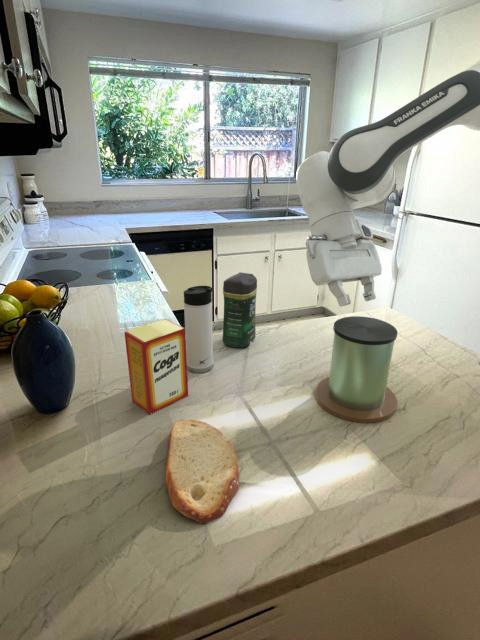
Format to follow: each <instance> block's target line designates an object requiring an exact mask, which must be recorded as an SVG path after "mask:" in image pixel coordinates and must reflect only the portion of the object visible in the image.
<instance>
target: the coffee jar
mask: <svg viewBox="0 0 480 640" xmlns="http://www.w3.org/2000/svg"><path fill="white" fill-rule="evenodd" d="M257 292H258V278H257V277H256V276H255V275H254V274H253V273H248V272H240V271H239V272H238V273H236V274H234V275H231V276H229V277H228V278H226V279H225V280H223V286H222V294H223V325H222V343H223V344H224V345H227V346H228V347H231V348H235V349H236V348H246V347H248V346H249V345H251V342H254V340H255V339H256V307H257V306H256V304H257Z"/></svg>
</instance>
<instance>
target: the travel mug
mask: <svg viewBox="0 0 480 640" xmlns="http://www.w3.org/2000/svg"><path fill="white" fill-rule="evenodd" d="M213 291H214V287H212V286H210V285H196V286H191V287H187V289H185V290H184V291H183V311H184V314H183V315H184V328H185V337H186V358H187V370H188V371H190V372H193V373H195V374H196V373H197V374H200V373H201V374H203V373H207V372H209V371H211V370H212V369H213V367H214V337H213V336H214V333H213V332H214V331H213V329H214V327H213V297H212V293H213Z"/></svg>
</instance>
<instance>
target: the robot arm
mask: <svg viewBox="0 0 480 640" xmlns="http://www.w3.org/2000/svg"><path fill="white" fill-rule="evenodd" d="M454 126H463V127H465V128H468V129H469V130H473V131H477V132H478V131H479V132H480V60H479V61H476V63H474V64H472V65H471V66H470V67H468V68H466V69H465V70H463V71H460V72H459V73H456V74H455V75H453V76H451V77H449V78H447V79H445V80H444V81H442V82H440V83H439V84H437V85H435V86H433V87H432V88H430V89H429V90H427V91H425V92H424V93H422V94H420V95H419V96H418V97H416V98H414V99H413V100H411V101H409V102H408V103H406V104H405V105H403V106H401V107H400V108H397V110H395V111H393V112H391V113H390V114H388V115H387V116H385V117H384V118H381V119H380V120H377V121H375V122H373V123H372V122H371V123H370V124H366V125H362V126H359V127H356V128H353V129H350V130H348V131H347V132H345V133H344V134H342V135H341V136H340V137H339V138H338V139H336V141H335V143H334V144H333V146H332V147H331V149H330V151H325V150H321V151H320V150H319V151H317V152H315V153H312V154H311V155H309V156H307V158H305V159H304V160H303V161H302V162H301V164H299V166H298V168H297V170H296V174H295V181H296V182H295V183H296V188H297V191H298V197H299V200H300V203H301V207H302V210H303V212H304V213H305V215H306V217H307V218H308V227H309V231H310V235H308V237H307V239H306V241H305V248H306V250H305V251H306V253H305V255H306V256H305V257H306V262H307V266H308V267H307V268H308V272H309V274H310V279H311V281H312V282H313V283H314V284H315V286H317V287H319V286H320V287H321V286H327V287H328V289H329V291H330V293H331V294H332V295H333V296H334V297H335V299H336V301H337V304H338V306H339V307H341V308H342V307H345V306H348V305H351V303H352V300H351V298H350V294H347V293H346V292H345V290H344V288H343V285H344V284H343V283H351V282H360V284H361V286H363V293H362V296H363V299H364V301H365V302H372V301H373V300H376V298H377V295H376V293H375V279H374V278H376V277H378V276H380V275H382V269H383V268H382V263H381V260H380V256H379V253H378V251H377V247H376V245H375V243H374V242H373V240H371V239H373V238H374V234H373V231H372V229H371V228H370V227H368V226H366V225H365V224H363V223H362V222H361V221H360V220H359V219H357V218H356V216H355V213H354V211H355V210H359V209H363V208H367V207H371V206H374V205H377V204H380V203H382V202H384V201H385V200H386V199H387V198H388V197H389V196H390V195H391V194H392V192H393V191H394V188H395V186H396V181H397V175H396V171H395V166H394V164H395V162H396V161H397V160H398V159H399V158H400V157H401V156H402V155H404V154H406V153H407V152H409V151H410V150H412V149H414V148H415V147H416V146H418V145H420V144H421V143H423V142H425V141H426V140H428V139H430V138H433V136H435V135H436V134H438V133H440V132H442V131H444V130H445V129H447V128H450V127H454Z"/></svg>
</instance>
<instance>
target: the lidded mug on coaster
mask: <svg viewBox="0 0 480 640" xmlns="http://www.w3.org/2000/svg"><path fill="white" fill-rule="evenodd" d="M332 327H333V328H332V329H333V332H334V333H333V340H332V341H333V342H332V351H331V359H330V360H331V361H330V369H329V376H328V377H325V378H323V379H321V380H320V381H319V382H318V383H317V385H316V386H315V391H314V392H315V393H314V394H315V396H314V397H315V400H316V401H317V403H318V405H319V406H320V407H321V409H323V410H324V411H326V412H327V413H329V414H331V415H332V416H334V417H336V418H339V419H342V420H345V421H348V422H353V423H362V424H372V423H373V424H374V423H380V422H383V421H386V420H388V419H389V418H391V417H393V415H394V414H395V413H396V411H397V408H398V399H397V396H396V394H395V393H394V392H393V390H392V389H390V388H389V387H388V386H387V385H388V379H389V374H390V369H391V362H392V357H393V351H394V346H395V341H396V340H397V338H398V330H397V328H396V327H395V326H394V325H392V324H391V323H389V322H387V321H384V320H382V319H379V318H375V317H369V316H361V315H360V316H359V315H358V316H357V315H356V316H355V315H354V316H345V317H340V318H339V319H337V320H335V321H334V323H333V326H332Z"/></svg>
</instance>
